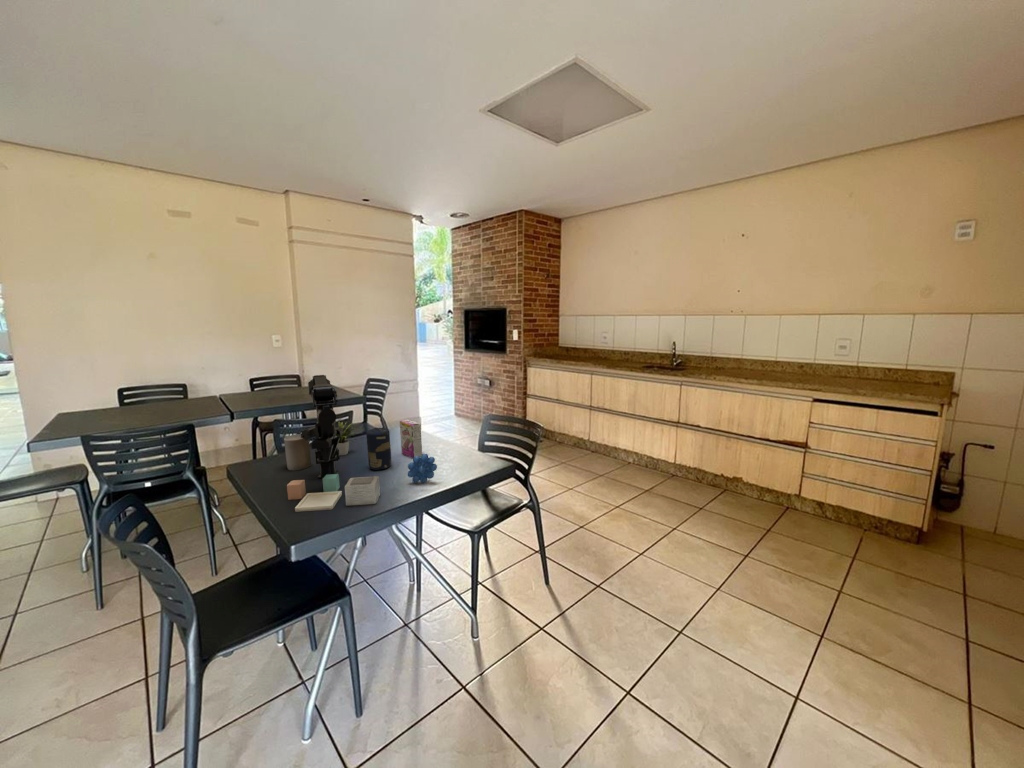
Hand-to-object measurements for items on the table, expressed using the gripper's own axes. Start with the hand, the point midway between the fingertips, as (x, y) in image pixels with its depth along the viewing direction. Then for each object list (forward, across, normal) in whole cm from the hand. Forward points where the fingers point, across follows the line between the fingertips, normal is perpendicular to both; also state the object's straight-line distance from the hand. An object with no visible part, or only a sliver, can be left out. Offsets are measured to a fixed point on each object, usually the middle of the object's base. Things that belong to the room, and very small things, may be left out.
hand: (329, 459), depth 153 cm
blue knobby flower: (+12, -2, +34) cm, 36 cm away
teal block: (+12, 0, 0) cm, 12 cm away
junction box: (+12, +11, +14) cm, 21 cm away
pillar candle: (+12, -29, -22) cm, 38 cm away
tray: (+12, +11, -1) cm, 16 cm away
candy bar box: (+12, -36, +26) cm, 46 cm away
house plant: (+12, -43, -8) cm, 45 cm away
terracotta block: (+12, +4, -11) cm, 17 cm away
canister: (+12, -22, +14) cm, 29 cm away
